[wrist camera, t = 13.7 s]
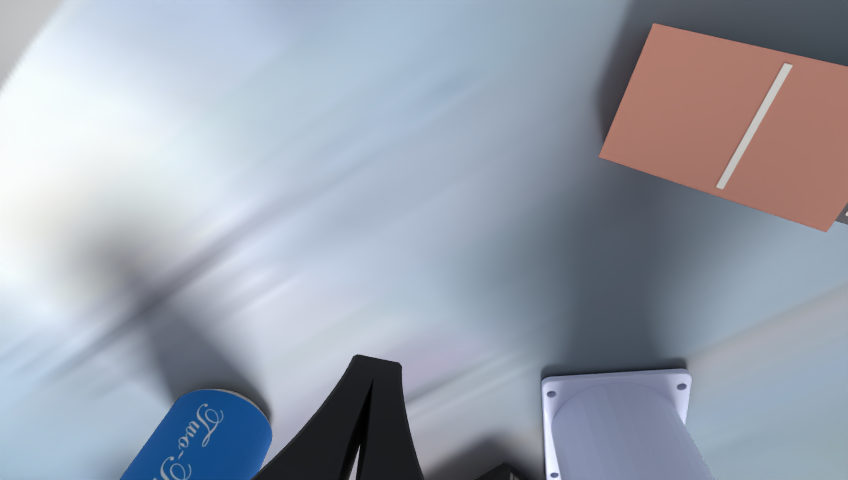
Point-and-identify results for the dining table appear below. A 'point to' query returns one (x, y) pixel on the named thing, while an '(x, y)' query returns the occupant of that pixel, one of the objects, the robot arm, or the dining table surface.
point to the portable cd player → (501, 474)
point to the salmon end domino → (737, 124)
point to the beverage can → (205, 440)
